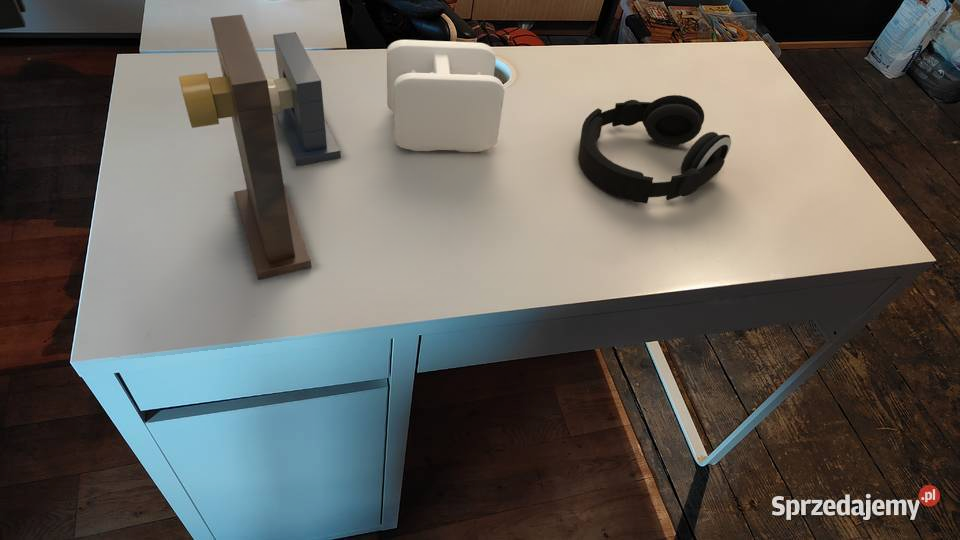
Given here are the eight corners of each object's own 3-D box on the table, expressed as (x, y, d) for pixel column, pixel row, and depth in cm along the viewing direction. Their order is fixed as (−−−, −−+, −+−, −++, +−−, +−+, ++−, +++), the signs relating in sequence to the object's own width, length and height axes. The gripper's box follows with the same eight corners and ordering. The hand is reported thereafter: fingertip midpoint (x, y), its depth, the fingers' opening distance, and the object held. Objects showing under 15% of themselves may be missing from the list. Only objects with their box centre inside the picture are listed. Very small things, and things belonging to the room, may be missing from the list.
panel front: (257, 280, 73) (215, 93, 56) (235, 198, 82) (192, 14, 64) (311, 267, 75) (287, 83, 58) (284, 189, 84) (255, 7, 66)
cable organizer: (387, 153, 90) (387, 78, 82) (387, 108, 97) (386, 35, 89) (495, 155, 93) (506, 82, 84) (487, 111, 99) (496, 39, 91)
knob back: (263, 124, 86) (258, 92, 82) (255, 103, 88) (249, 71, 85) (313, 115, 88) (310, 83, 84) (303, 95, 91) (300, 64, 87)
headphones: (760, 146, 86) (622, 183, 81) (742, 191, 92) (613, 227, 87) (687, 74, 97) (562, 103, 92) (675, 118, 103) (557, 147, 98)
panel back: (296, 166, 87) (286, 90, 78) (271, 106, 95) (259, 32, 86) (340, 157, 89) (335, 82, 80) (312, 100, 97) (305, 26, 88)
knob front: (194, 138, 63) (182, 94, 59) (187, 109, 66) (176, 66, 62) (264, 127, 65) (256, 84, 62) (254, 99, 68) (247, 57, 64)
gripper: (-313, 32, 51) (37, 2, 58) (-385, 149, 42) (37, 95, 50) (-400, -71, 45) (0, -89, 53) (-504, 39, 36) (-7, -2, 44)
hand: (17, 0), depth 51 cm, fingers closed
